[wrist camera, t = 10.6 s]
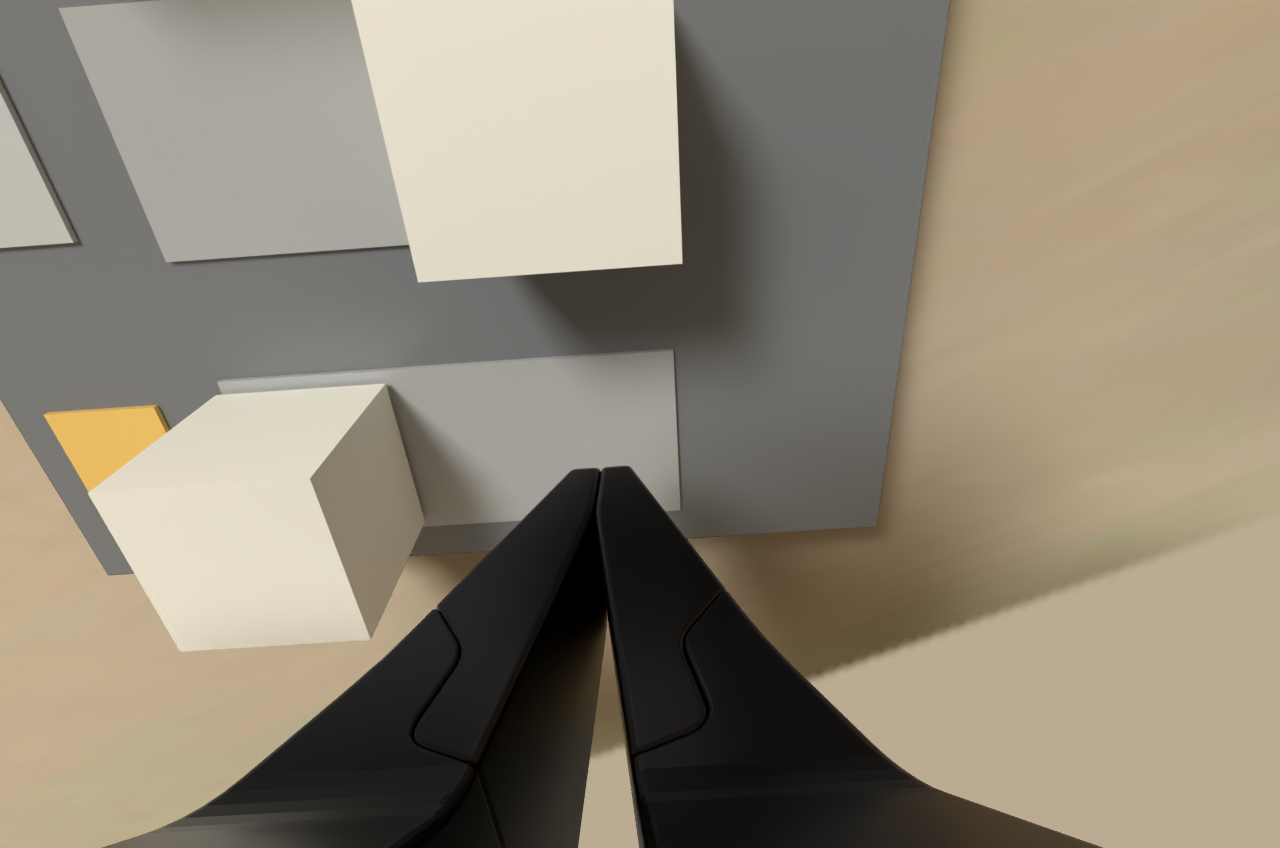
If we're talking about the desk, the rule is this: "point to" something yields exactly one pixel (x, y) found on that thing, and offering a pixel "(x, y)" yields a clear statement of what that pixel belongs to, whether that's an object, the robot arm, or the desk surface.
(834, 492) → the switch panel
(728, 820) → the robot arm
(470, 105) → the tab
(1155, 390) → the desk surface
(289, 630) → the tab
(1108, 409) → the desk surface
